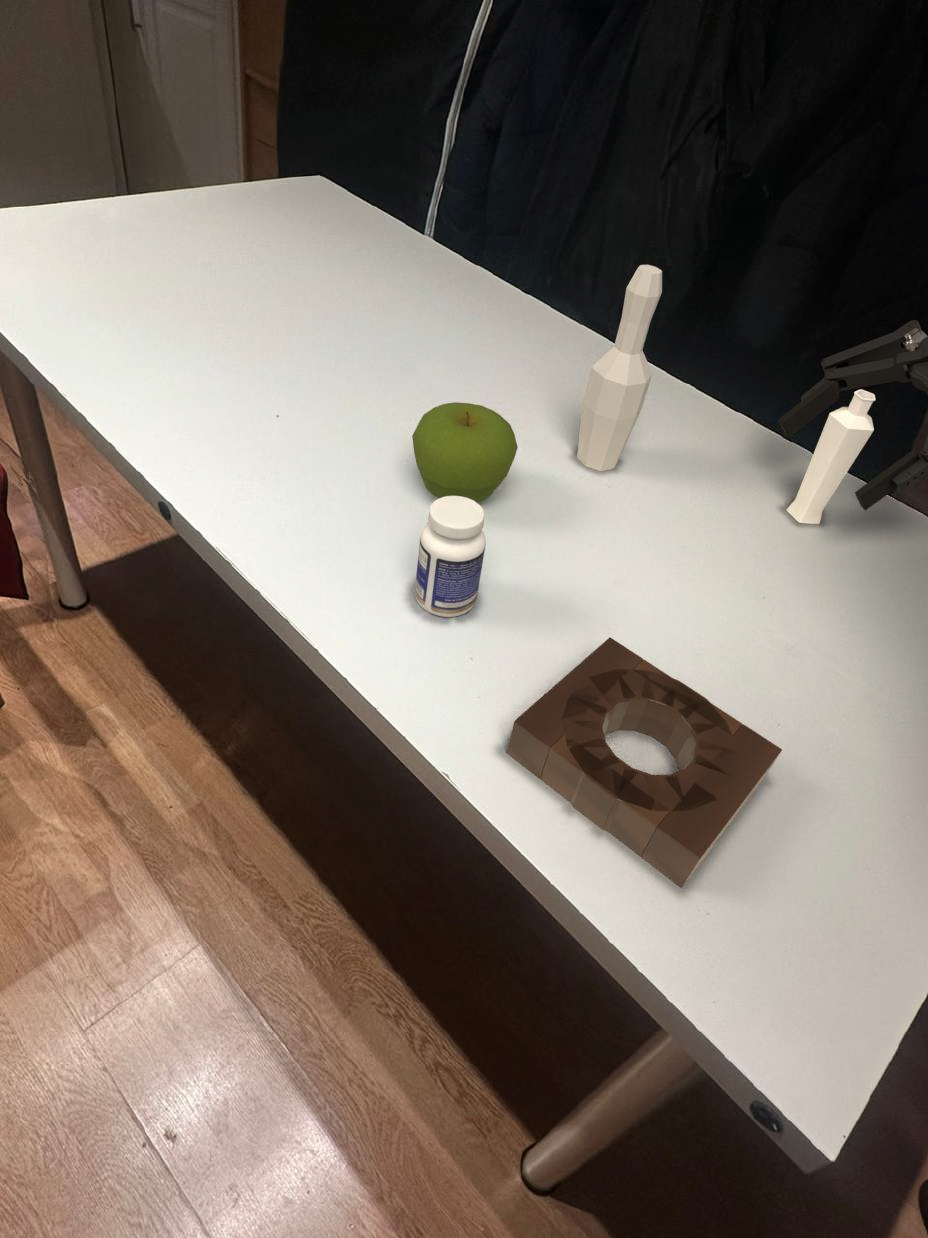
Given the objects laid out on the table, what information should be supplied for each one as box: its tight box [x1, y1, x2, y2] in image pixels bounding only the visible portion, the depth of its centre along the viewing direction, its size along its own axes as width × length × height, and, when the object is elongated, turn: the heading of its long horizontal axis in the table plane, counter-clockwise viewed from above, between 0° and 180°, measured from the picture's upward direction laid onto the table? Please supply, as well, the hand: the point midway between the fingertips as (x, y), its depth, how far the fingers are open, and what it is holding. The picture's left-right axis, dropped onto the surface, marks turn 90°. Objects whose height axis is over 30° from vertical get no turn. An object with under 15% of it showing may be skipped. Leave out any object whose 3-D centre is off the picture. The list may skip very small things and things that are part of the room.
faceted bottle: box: [576, 264, 663, 472], centre depth 88 cm, size 6×6×22 cm
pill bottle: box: [414, 496, 487, 618], centre depth 72 cm, size 6×6×10 cm
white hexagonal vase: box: [785, 388, 876, 525], centre depth 87 cm, size 5×4×15 cm
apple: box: [411, 401, 519, 502], centre depth 84 cm, size 11×10×10 cm
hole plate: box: [505, 637, 783, 889], centre depth 63 cm, size 16×13×4 cm
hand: (819, 463), depth 87 cm, fingers open, 13 cm apart
